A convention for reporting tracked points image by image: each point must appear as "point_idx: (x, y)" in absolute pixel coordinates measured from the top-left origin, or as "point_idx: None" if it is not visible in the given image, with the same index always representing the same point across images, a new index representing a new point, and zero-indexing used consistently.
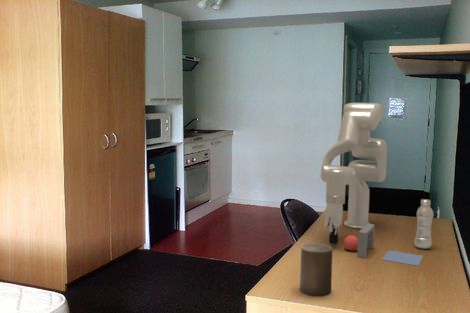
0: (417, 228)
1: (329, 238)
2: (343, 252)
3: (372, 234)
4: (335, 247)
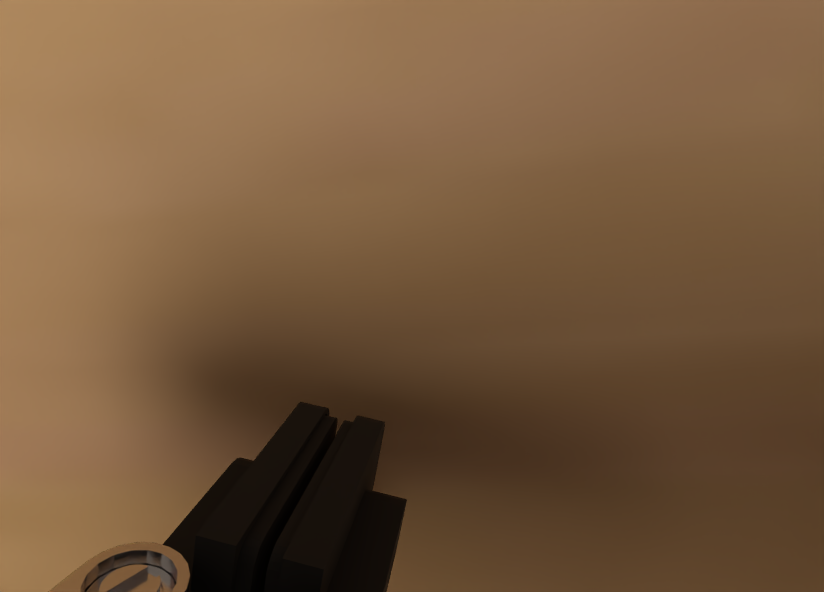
0: None
1: (260, 456)
2: None
3: None
4: None
